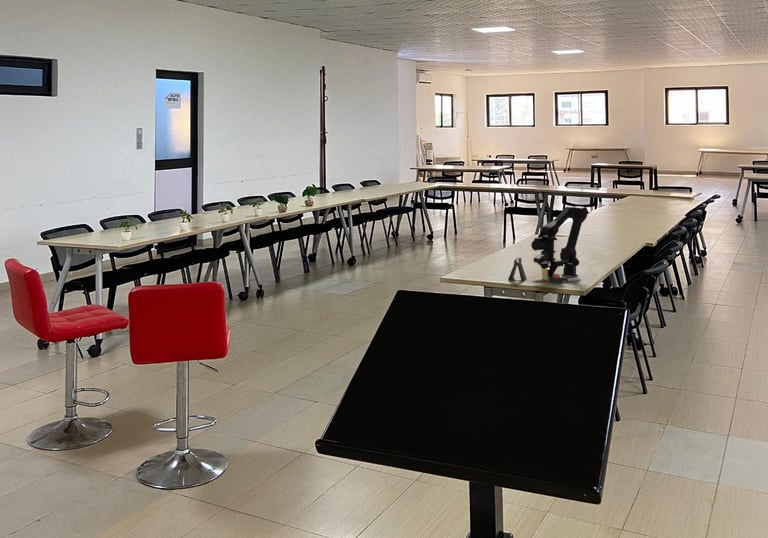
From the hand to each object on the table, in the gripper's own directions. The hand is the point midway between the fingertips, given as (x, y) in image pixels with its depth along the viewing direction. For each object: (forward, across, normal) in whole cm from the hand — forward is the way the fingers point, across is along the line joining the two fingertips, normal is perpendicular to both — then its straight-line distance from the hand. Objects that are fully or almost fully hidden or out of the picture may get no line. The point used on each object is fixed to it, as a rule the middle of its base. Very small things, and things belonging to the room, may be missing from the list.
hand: (547, 276), depth 415 cm
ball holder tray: (+1, +9, +3) cm, 9 cm away
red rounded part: (0, +9, -1) cm, 9 cm away
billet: (+1, 0, 0) cm, 1 cm away
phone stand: (+2, -8, -15) cm, 17 cm away
